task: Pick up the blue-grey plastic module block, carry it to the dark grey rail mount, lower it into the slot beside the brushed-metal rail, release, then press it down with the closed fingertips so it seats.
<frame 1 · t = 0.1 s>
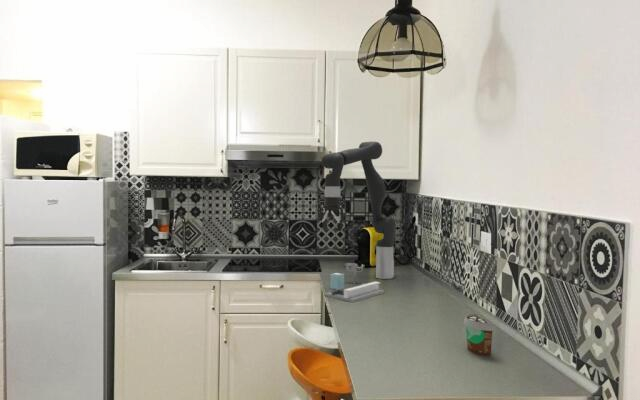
hand: (332, 230, 220), 29 cm above the worktop, tool pointing down, fingers open, 8 cm apart
rail mount: (354, 294, 215), on the worktop
mechanical component: (354, 283, 239), on the worktop
module: (337, 288, 228), on the worktop
food container: (474, 350, 144), on the worktop
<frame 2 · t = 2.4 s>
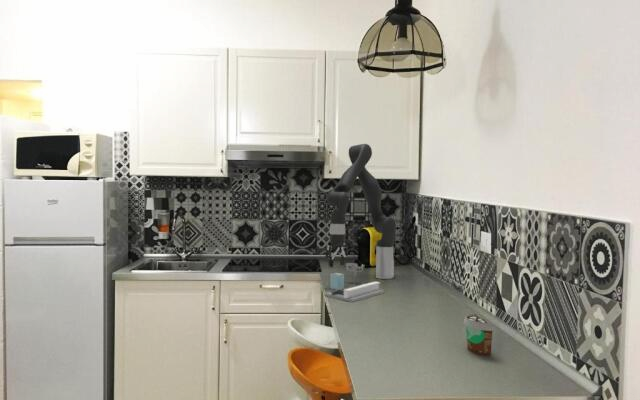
hand: (336, 266, 227), 11 cm above the worktop, tool pointing down, fingers open, 8 cm apart
nothing on the worktop moved.
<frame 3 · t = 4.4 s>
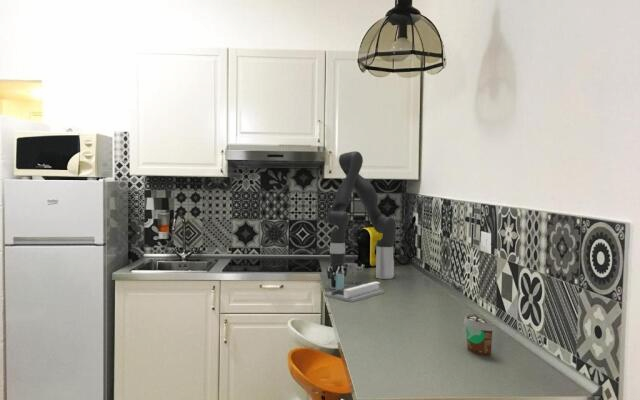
hand: (337, 286, 227), 1 cm above the worktop, tool pointing down, fingers closed on module, 5 cm apart
module: (337, 288, 228), on the worktop, touching gripper
everything else where it was.
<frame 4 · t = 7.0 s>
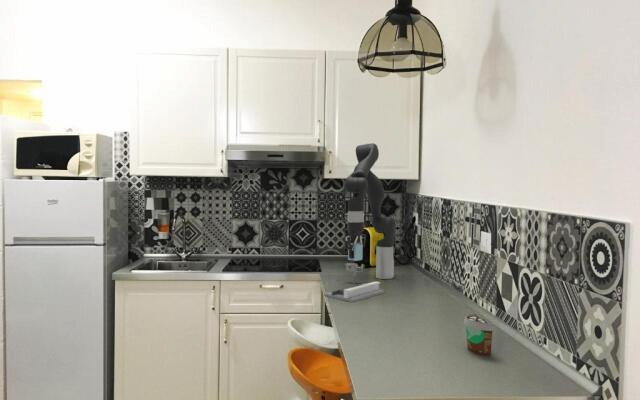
hand: (355, 257, 215), 17 cm above the worktop, tool pointing down, fingers closed on module, 5 cm apart
module: (355, 259, 215), point 16 cm above the worktop, touching gripper
everything else where it was.
when the fingers open (3 cm above the worktop, at t = 9.9 s): module stays where it is, resting on rail mount.
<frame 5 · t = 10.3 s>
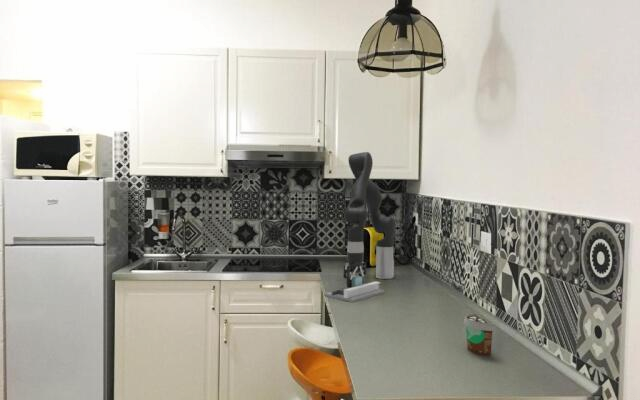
hand: (355, 286, 215), 4 cm above the worktop, tool pointing down, fingers open, 8 cm apart
module: (354, 291, 215), point 1 cm above the worktop, touching rail mount
everything else where it was.
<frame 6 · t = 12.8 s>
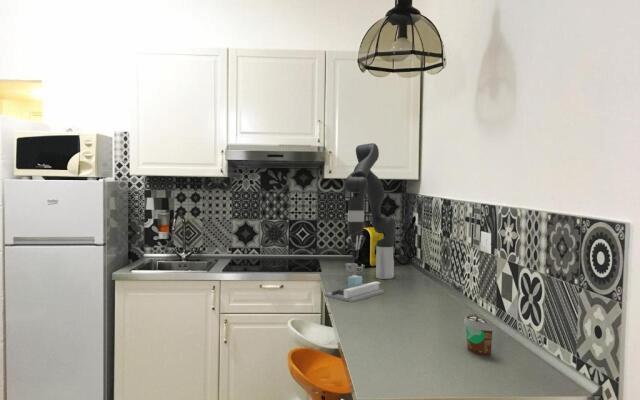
hand: (355, 257, 215), 17 cm above the worktop, tool pointing down, fingers closed
nothing on the worktop moved.
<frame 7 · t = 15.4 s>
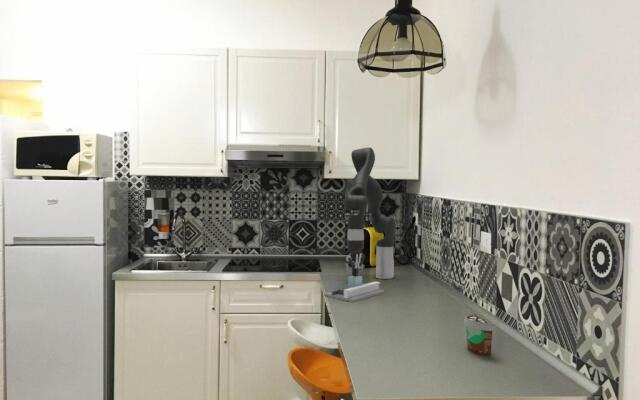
hand: (355, 276, 215), 8 cm above the worktop, tool pointing down, fingers closed
module: (354, 291, 215), point 1 cm above the worktop, touching gripper, rail mount
everything else where it was.
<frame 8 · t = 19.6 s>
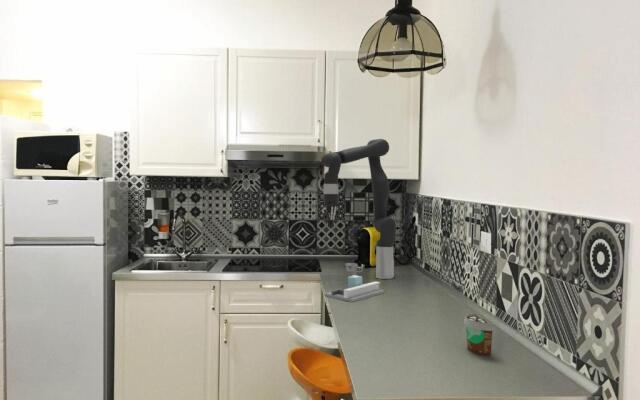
hand: (330, 227, 235), 29 cm above the worktop, tool pointing down, fingers closed
module: (354, 291, 215), point 1 cm above the worktop, touching rail mount
everything else where it was.
at the end: module inside the target area on the rail mount (0.1 cm from its centre), point 1.2 cm above the rail mount's base; module tilted 0°; module touching rail mount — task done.
